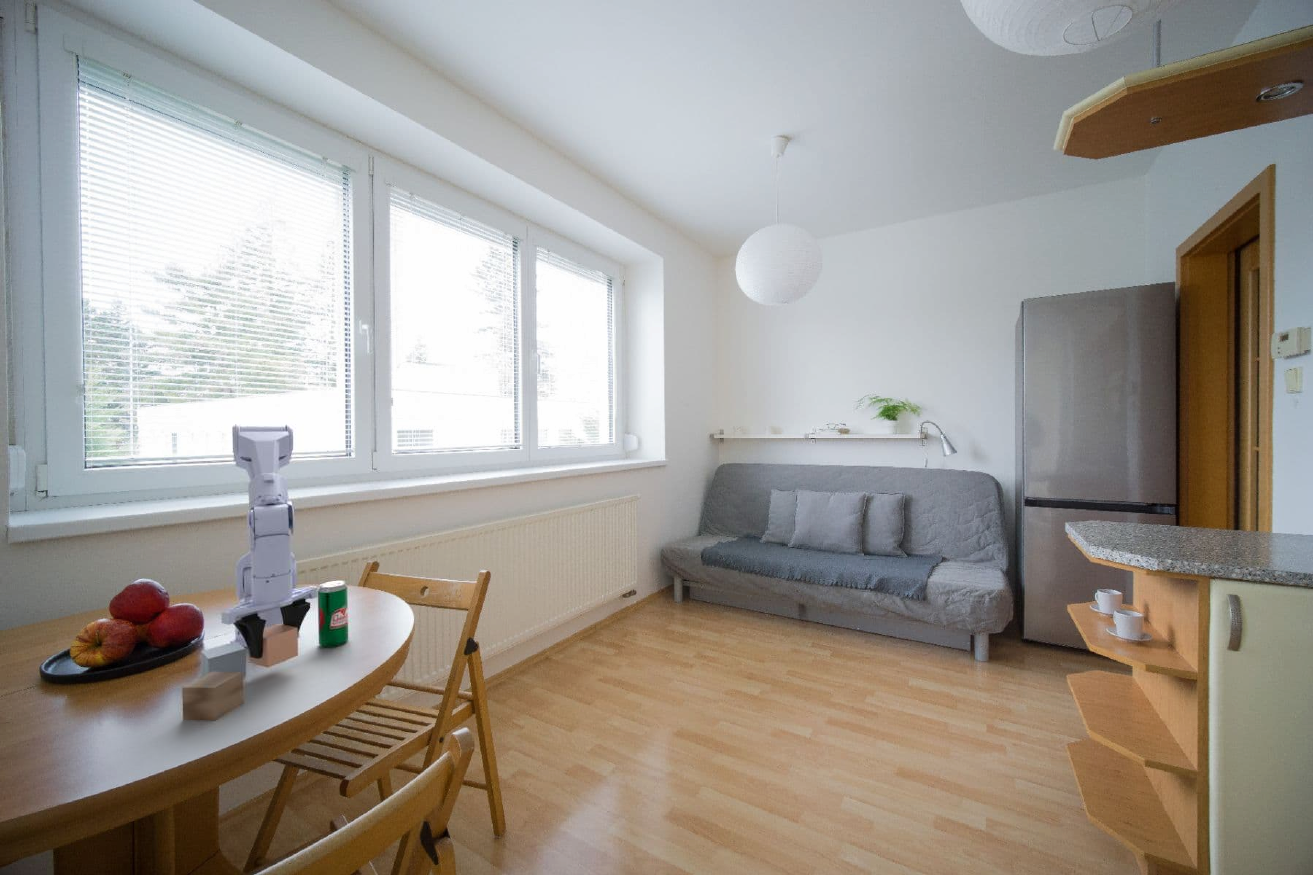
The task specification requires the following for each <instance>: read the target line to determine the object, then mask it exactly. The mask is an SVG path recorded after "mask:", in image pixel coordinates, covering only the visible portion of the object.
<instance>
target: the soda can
mask: <svg viewBox="0 0 1313 875" xmlns="http://www.w3.org/2000/svg"><path fill="white" fill-rule="evenodd" d="M348 596H349V595H348V586H347V584H346V582H345V581H343V580H333V581H328V582H324V583H322V584H319V588H318V589H317V619H318V621H317V624H318V633H317V634H318V645H320V646H321V647H323V648H333V647H339V646H341V645H343V644H344V643H347V641H348V640H349V606H348V605H349V604H348V601H349V600H348V599H349V598H348Z"/></svg>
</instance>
